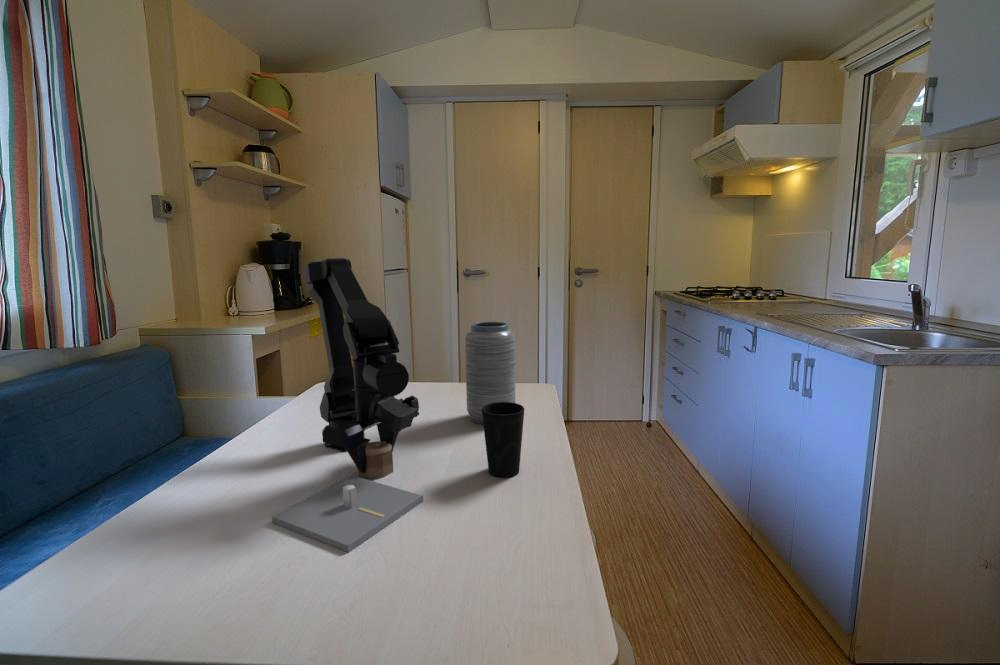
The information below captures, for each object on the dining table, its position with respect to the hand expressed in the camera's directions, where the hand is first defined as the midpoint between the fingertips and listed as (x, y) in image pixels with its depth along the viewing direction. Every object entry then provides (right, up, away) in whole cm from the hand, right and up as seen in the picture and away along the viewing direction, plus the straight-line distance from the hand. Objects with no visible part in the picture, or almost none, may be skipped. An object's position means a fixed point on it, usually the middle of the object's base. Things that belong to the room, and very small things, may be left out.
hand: (375, 465), depth 94 cm
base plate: (0, -3, -14) cm, 15 cm away
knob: (0, -1, 0) cm, 1 cm away
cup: (+24, -1, -1) cm, 24 cm away
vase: (+21, +4, +28) cm, 35 cm away
